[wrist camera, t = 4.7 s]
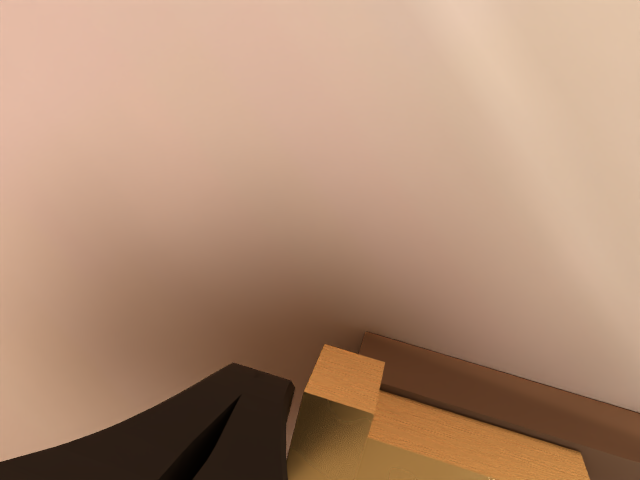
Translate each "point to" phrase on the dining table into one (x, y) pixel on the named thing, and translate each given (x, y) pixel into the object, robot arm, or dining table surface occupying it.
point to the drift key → (405, 435)
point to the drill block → (513, 405)
